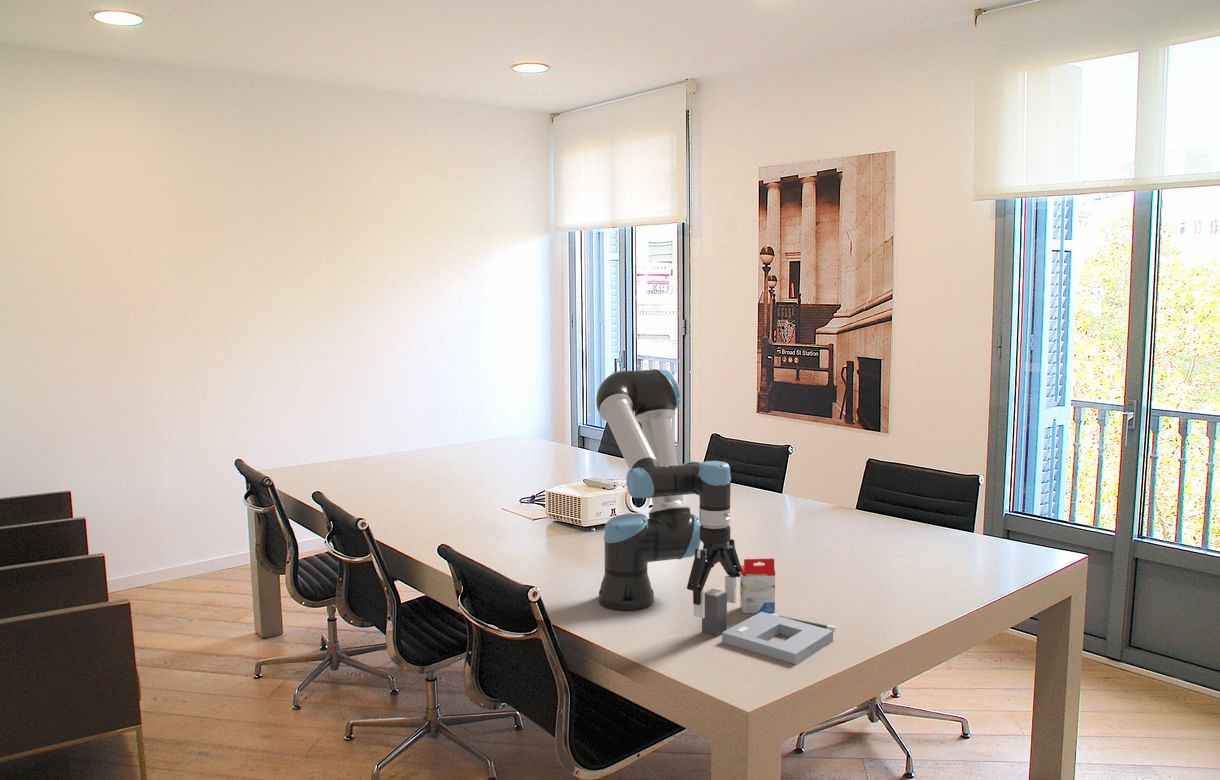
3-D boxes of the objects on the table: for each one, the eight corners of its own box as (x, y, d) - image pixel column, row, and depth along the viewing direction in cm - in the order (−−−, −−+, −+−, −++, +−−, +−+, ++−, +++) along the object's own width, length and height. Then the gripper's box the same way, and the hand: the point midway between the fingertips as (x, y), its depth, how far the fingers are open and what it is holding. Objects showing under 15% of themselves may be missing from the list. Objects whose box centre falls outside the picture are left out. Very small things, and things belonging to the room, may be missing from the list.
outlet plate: (722, 642, 218) (722, 631, 217) (761, 620, 231) (761, 610, 231) (795, 664, 205) (795, 653, 204) (833, 640, 218) (833, 629, 218)
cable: (770, 617, 233) (770, 614, 233) (772, 616, 234) (772, 613, 234) (834, 631, 224) (834, 627, 224) (836, 629, 225) (836, 626, 225)
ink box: (771, 606, 241) (771, 553, 240) (775, 613, 237) (775, 558, 235) (739, 607, 241) (740, 553, 239) (742, 613, 236) (743, 559, 235)
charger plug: (701, 632, 224) (702, 591, 222) (711, 627, 227) (712, 586, 226) (716, 637, 221) (716, 595, 219) (726, 632, 224) (727, 590, 223)
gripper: (697, 537, 209) (698, 626, 211) (755, 517, 227) (755, 599, 230) (671, 532, 214) (672, 619, 216) (730, 513, 232) (730, 593, 234)
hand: (715, 609), depth 223 cm, fingers open, 13 cm apart
